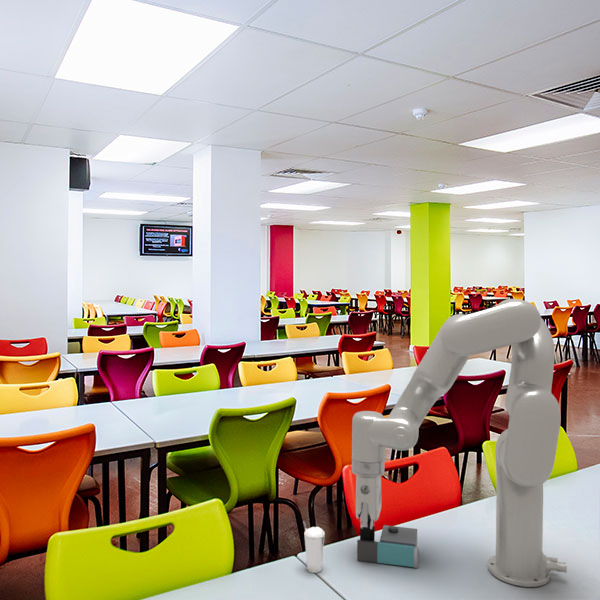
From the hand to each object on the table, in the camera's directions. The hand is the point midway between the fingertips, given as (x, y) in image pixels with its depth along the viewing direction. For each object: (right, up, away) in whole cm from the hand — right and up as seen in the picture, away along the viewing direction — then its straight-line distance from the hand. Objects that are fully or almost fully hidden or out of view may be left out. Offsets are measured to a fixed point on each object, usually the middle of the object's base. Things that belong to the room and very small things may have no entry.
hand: (367, 543), depth 128 cm
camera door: (+4, -3, -4) cm, 6 cm away
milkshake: (-13, -3, -6) cm, 14 cm away
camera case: (+7, -3, 0) cm, 8 cm away
